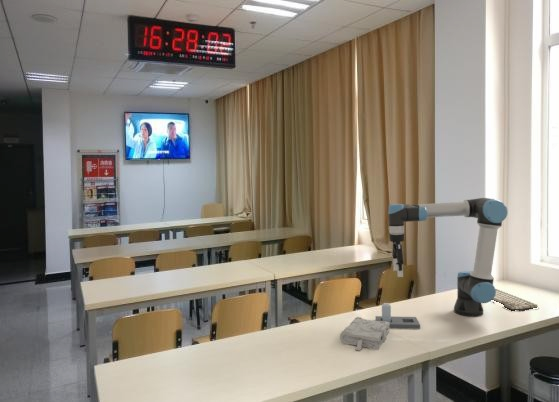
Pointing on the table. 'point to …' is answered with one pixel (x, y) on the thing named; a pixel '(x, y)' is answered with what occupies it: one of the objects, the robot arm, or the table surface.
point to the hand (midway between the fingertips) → (398, 273)
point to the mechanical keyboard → (513, 301)
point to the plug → (386, 312)
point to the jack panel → (402, 322)
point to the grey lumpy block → (365, 333)
